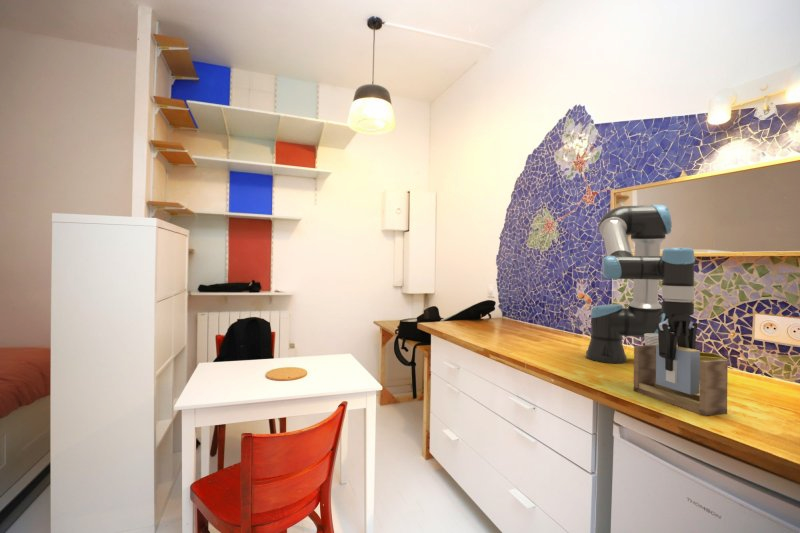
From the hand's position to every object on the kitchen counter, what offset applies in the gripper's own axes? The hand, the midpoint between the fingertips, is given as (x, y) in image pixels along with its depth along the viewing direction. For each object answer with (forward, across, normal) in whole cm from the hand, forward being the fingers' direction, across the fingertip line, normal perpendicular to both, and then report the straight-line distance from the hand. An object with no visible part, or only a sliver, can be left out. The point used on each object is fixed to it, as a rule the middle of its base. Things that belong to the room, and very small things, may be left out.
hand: (676, 381), depth 108 cm
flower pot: (+6, -32, -14) cm, 35 cm away
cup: (+6, -15, -18) cm, 24 cm away
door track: (+6, 0, 0) cm, 6 cm away
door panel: (+2, 0, 0) cm, 2 cm away
